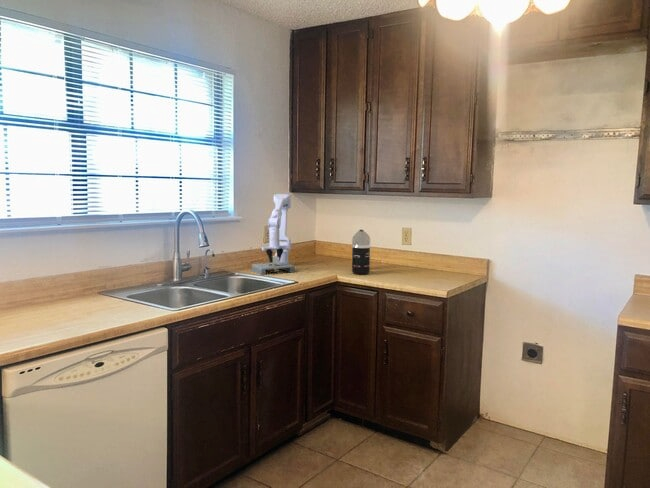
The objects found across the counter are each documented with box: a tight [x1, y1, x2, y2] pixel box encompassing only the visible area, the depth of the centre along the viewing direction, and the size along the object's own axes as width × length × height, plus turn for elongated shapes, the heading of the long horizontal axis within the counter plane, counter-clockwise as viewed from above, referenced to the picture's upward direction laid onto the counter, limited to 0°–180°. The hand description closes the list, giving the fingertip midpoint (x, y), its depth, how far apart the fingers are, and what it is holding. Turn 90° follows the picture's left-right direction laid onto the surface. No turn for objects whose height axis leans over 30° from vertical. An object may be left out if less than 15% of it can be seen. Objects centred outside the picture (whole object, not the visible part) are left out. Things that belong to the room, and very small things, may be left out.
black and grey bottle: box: [351, 229, 371, 276], centre depth 296 cm, size 10×10×25 cm
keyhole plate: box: [251, 262, 296, 276], centre depth 303 cm, size 16×20×4 cm
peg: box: [271, 255, 279, 271], centre depth 300 cm, size 4×4×7 cm
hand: (274, 262), depth 300 cm, fingers closed on peg, 4 cm apart
